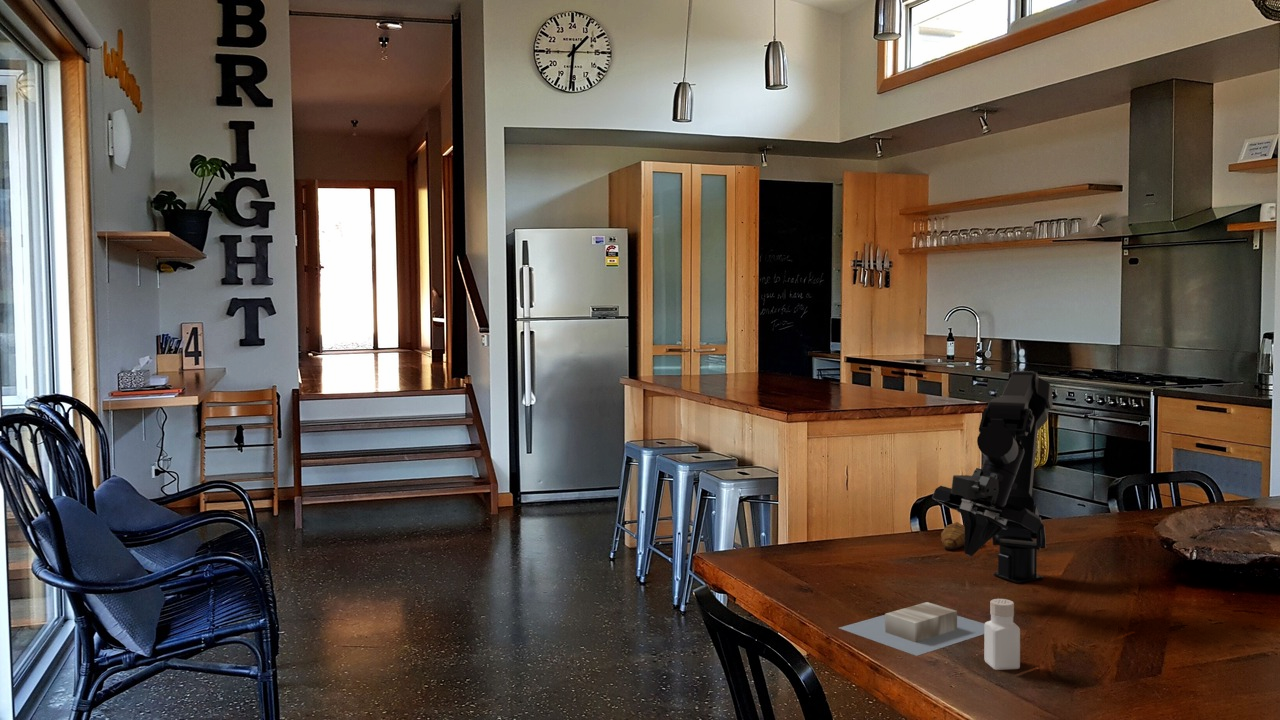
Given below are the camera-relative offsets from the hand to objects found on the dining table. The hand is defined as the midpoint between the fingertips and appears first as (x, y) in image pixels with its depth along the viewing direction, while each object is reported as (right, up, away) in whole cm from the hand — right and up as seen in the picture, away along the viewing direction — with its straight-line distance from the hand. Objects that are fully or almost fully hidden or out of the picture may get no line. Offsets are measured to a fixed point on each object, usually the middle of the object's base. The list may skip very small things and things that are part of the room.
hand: (968, 555), depth 174 cm
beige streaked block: (-7, -8, -10) cm, 15 cm away
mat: (-12, -10, -11) cm, 19 cm away
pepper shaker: (-4, -11, -28) cm, 30 cm away
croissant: (+12, -6, +43) cm, 46 cm away
